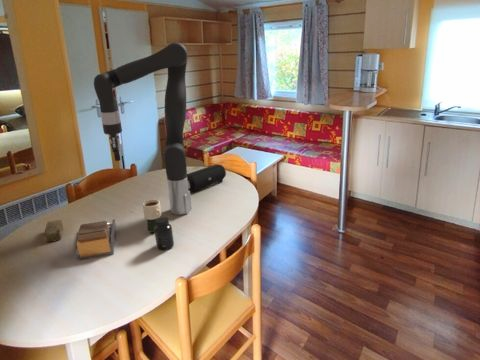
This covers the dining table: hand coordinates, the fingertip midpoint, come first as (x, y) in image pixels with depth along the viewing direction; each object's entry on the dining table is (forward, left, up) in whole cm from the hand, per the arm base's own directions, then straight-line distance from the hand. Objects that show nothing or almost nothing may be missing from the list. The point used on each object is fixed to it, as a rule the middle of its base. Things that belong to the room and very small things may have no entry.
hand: (117, 160), depth 154 cm
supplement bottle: (-30, +22, -27) cm, 46 cm away
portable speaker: (-26, -39, -27) cm, 54 cm away
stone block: (+20, +23, -27) cm, 41 cm away
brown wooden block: (-4, +29, -24) cm, 38 cm away
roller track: (-1, +24, -27) cm, 36 cm away
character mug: (-20, +11, -27) cm, 35 cm away
